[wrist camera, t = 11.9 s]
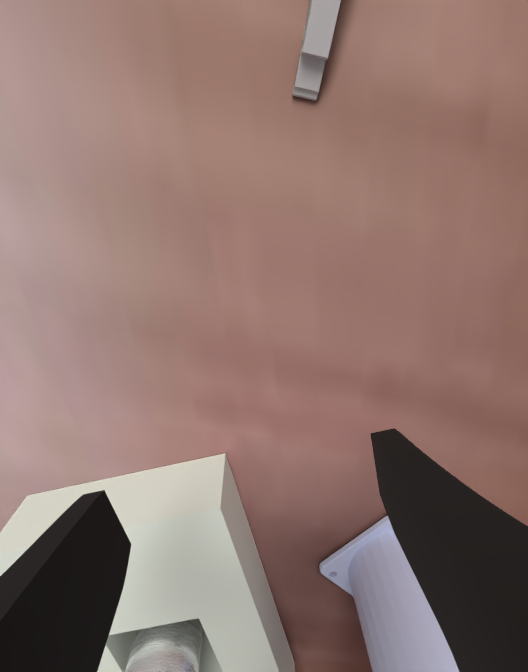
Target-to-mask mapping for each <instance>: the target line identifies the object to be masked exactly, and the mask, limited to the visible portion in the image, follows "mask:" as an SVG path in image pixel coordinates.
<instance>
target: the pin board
mask: <svg viewBox="0 0 528 672" xmlns="http://www.w3.org/2000/svg"><path fill="white" fill-rule="evenodd" d="M102 490H105V492H106V494H107V496H108V498H109V500H110V502H111V504H112V506H113V508H114V510H115V512H116V514H117V516H118V518H119V520H120V522H121V524H122V526H123V528H124V530H125V532H126V535H127V537H128V539H129V541H130V543H131V550H130V556H129V562H128V568H127V573H126V577H125V582H124V587H123V590H122V594H121V597H120V600H119V604H118V607H117V610H116V614H115V617H114V620H113V623H112V626H111V630H110V633H109V636H108V639H107V642H106V645H105V649H104V652H103V655H102V658H101V661H100V664H99V668H98V671H97V672H125V670H126V667H127V663H128V659H129V655H130V651H131V647H132V643H133V640H134V636H135V632H136V630H139V629H144V628H150V627H155V626H160V625H165V624H170V623H176V622H181V621H186V620H191V619H197V618H199V620H200V622H201V624H202V626H203V638H202V647H201V656H200V666H199V672H295V664H294V659H293V656H292V653H291V650H290V647H289V644H288V641H287V638H286V635H285V632H284V629H283V626H282V623H281V620H280V617H279V614H278V611H277V608H276V605H275V602H274V599H273V596H272V593H271V590H270V587H269V584H268V581H267V578H266V575H265V572H264V569H263V566H262V563H261V559H260V556H259V553H258V550H257V547H256V544H255V541H254V538H253V535H252V532H251V529H250V526H249V523H248V520H247V517H246V514H245V511H244V508H243V505H242V502H241V499H240V496H239V493H238V490H237V487H236V484H235V481H234V478H233V475H232V472H231V469H230V466H229V463H228V460H227V456H226V453H224V454H220V455H215V456H210V457H206V458H201V459H196V460H192V461H187V462H182V463H178V464H173V465H168V466H163V467H159V468H154V469H149V470H145V471H140V472H135V473H131V474H126V475H121V476H117V477H112V478H107V479H103V480H98V481H93V482H89V483H84V484H79V485H75V486H70V487H65V488H60V489H56V490H51V491H46V492H42V493H37V494H32V495H28V496H27V497H26V498H25V499H24V501H23V502H22V504H21V505H20V506H19V508H18V509H17V510H16V512H15V513H14V515H13V516H12V517H11V519H10V520H9V521H8V523H7V524H6V526H5V527H4V528H3V530H2V531H1V532H0V576H1V575H2V574H3V573H4V572H5V571H6V570H7V569H8V568H9V567H10V566H11V565H12V564H13V563H14V562H15V561H16V560H17V559H18V558H19V557H20V556H21V555H22V554H23V553H24V552H25V551H26V550H27V549H28V548H29V547H30V546H31V545H32V544H33V543H34V542H35V541H36V540H37V539H38V538H39V537H40V536H41V535H42V534H43V533H44V532H45V531H46V530H47V529H48V528H49V527H50V526H51V525H52V524H53V523H54V522H55V521H56V520H57V519H58V518H59V517H60V516H61V515H62V514H63V513H64V512H65V511H66V510H67V509H68V508H69V507H70V506H71V505H72V504H73V503H74V502H75V501H76V500H77V499H78V498H80V497H81V496H82V495H83V494H88V493H92V492H97V491H102Z"/></svg>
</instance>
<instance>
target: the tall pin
mask: <svg viewBox="0 0 528 672" xmlns="http://www.w3.org/2000/svg"><path fill="white" fill-rule="evenodd" d="M202 638H203V626H202V624H201V622H200V620H199V618H197V619H191V620H186V621H181V622H176V623H170V624H165V625H160V626H155V627H150V628H144V629H139V630H136V632H135V636H134V640H133V643H132V647H131V651H130V655H129V659H128V663H127V667H126V670H125V672H199V666H200V656H201V647H202Z"/></svg>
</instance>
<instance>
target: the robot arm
mask: <svg viewBox="0 0 528 672" xmlns="http://www.w3.org/2000/svg"><path fill="white" fill-rule="evenodd" d="M371 439H372V446H373V452H374V459H375V465H376V472H377V478H378V485H379V492H380V496H381V498H382V501H383V504H384V507H385V509H386V512H387V516H385V517H384V518H383V519H381V520H380V521H378V522H377V523H376V524H374V525H373V526H371V527H370V528H369V529H367V530H366V531H364V532H363V533H362V534H360V535H359V536H357V537H356V538H355V539H353V540H352V541H350V542H349V543H348V544H346V545H345V546H343V547H342V548H341V549H339V550H338V551H336V552H335V553H334V554H332V555H331V556H329V557H328V558H327V559H325V560H324V561H322V562H321V563H320V565H319V568H320V573H321V574H322V575H324V576H325V577H327V578H328V579H329V580H331V581H332V582H334V583H335V584H336V585H338V586H339V587H341V588H342V589H343V590H345V591H346V592H348V593H349V594H350V595H352V596H353V597H354V601H355V604H356V608H357V612H358V616H359V620H360V624H361V628H362V632H363V636H364V640H365V644H366V648H367V652H368V656H369V660H370V664H371V667H372V671H373V672H528V526H526V525H525V524H523V523H521V522H520V521H518V520H517V519H515V518H513V517H512V516H510V515H509V514H507V513H506V512H504V511H503V510H501V509H500V508H498V507H497V506H495V505H494V504H492V503H491V502H489V501H488V500H486V499H485V498H483V497H482V496H480V495H479V494H477V493H476V492H475V491H473V490H472V489H470V488H469V487H468V486H466V485H465V484H464V483H462V482H461V481H460V480H458V479H457V478H456V477H454V476H453V475H452V474H450V473H449V472H448V471H446V470H445V469H444V468H442V467H441V466H440V465H438V464H437V463H436V462H435V461H433V460H432V459H431V458H430V457H428V456H427V455H426V454H425V453H423V452H422V451H421V450H420V449H419V448H417V447H416V446H415V445H414V444H413V443H412V442H410V441H409V440H408V439H407V438H406V437H405V436H403V435H402V434H401V433H400V432H399V431H397V430H396V429H390V430H385V431H380V432H375V433H371ZM130 550H131V543H130V541H129V539H128V537H127V535H126V532H125V530H124V528H123V526H122V524H121V522H120V520H119V518H118V516H117V514H116V512H115V510H114V508H113V506H112V504H111V502H110V500H109V498H108V496H107V494H106V492H105V490H102V491H97V492H92V493H88V494H83V495H82V496H81V497H80V498H78V499H77V500H76V501H75V502H74V503H73V504H72V505H71V506H70V507H69V508H68V509H67V510H66V511H65V512H64V513H63V514H62V515H61V516H60V517H59V518H58V519H57V520H56V521H55V522H54V523H53V524H52V525H51V526H50V527H49V528H48V529H47V530H46V531H45V532H44V533H43V534H42V535H41V536H40V537H39V538H38V539H37V540H36V541H35V542H34V543H33V544H32V545H31V546H30V547H29V548H28V549H27V550H26V551H25V552H24V553H23V554H22V555H21V556H20V557H19V558H18V559H17V560H16V561H15V562H14V563H13V564H12V565H11V566H10V567H9V568H8V569H7V570H6V571H5V572H4V573H3V574H2V575H1V576H0V672H97V671H98V668H99V664H100V661H101V658H102V655H103V652H104V649H105V645H106V642H107V639H108V636H109V633H110V630H111V626H112V623H113V620H114V617H115V614H116V610H117V607H118V604H119V600H120V597H121V594H122V590H123V587H124V582H125V577H126V573H127V568H128V562H129V556H130Z"/></svg>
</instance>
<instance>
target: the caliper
mask: <svg viewBox="0 0 528 672" xmlns="http://www.w3.org/2000/svg"><path fill="white" fill-rule="evenodd" d="M340 2H341V0H310V2H309V7H308V13H307V18H306V24H305V29H304V35H303V40H302V46H301V51H300V58H299V64H298V69H297V74H296V79H295V84H294V90H293V96H296V97H301V98H305V99H310V100H314V101H316V100H317V95H318V92H319V88H320V84H321V80H322V75H323V71H324V66H325V62H326V60H327V59H328V55H329V51H330V47H331V42H332V38H333V33H334V29H335V24H336V20H337V15H338V11H339V7H340Z"/></svg>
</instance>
